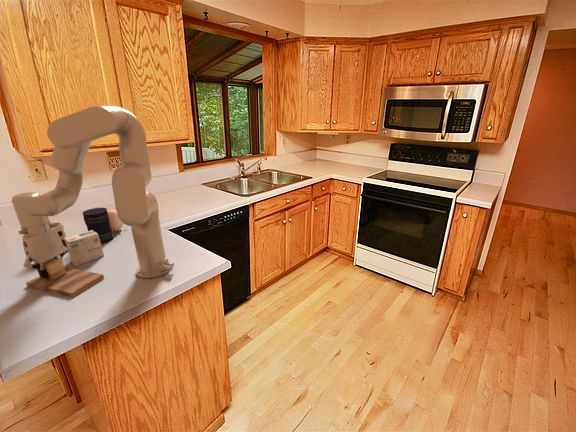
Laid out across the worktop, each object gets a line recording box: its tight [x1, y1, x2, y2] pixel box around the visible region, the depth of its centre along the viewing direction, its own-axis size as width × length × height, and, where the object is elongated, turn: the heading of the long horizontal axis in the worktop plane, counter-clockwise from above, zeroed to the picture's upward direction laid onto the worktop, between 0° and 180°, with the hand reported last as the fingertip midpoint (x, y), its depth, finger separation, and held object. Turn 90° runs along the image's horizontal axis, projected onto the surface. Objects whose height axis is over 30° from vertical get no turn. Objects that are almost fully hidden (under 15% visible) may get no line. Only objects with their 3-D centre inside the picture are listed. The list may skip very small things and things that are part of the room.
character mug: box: [50, 221, 68, 253], centre depth 125 cm, size 11×7×13 cm, turn 10°
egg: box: [107, 209, 124, 232], centre depth 147 cm, size 8×8×11 cm
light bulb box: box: [63, 230, 105, 266], centre depth 120 cm, size 11×7×11 cm, turn 141°
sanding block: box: [36, 258, 66, 280], centre depth 105 cm, size 7×4×6 cm, turn 73°
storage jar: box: [82, 207, 115, 245], centre depth 136 cm, size 10×10×15 cm
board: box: [25, 266, 105, 298], centre depth 104 cm, size 22×12×2 cm, turn 73°
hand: (52, 273), depth 105 cm, fingers closed on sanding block, 4 cm apart
